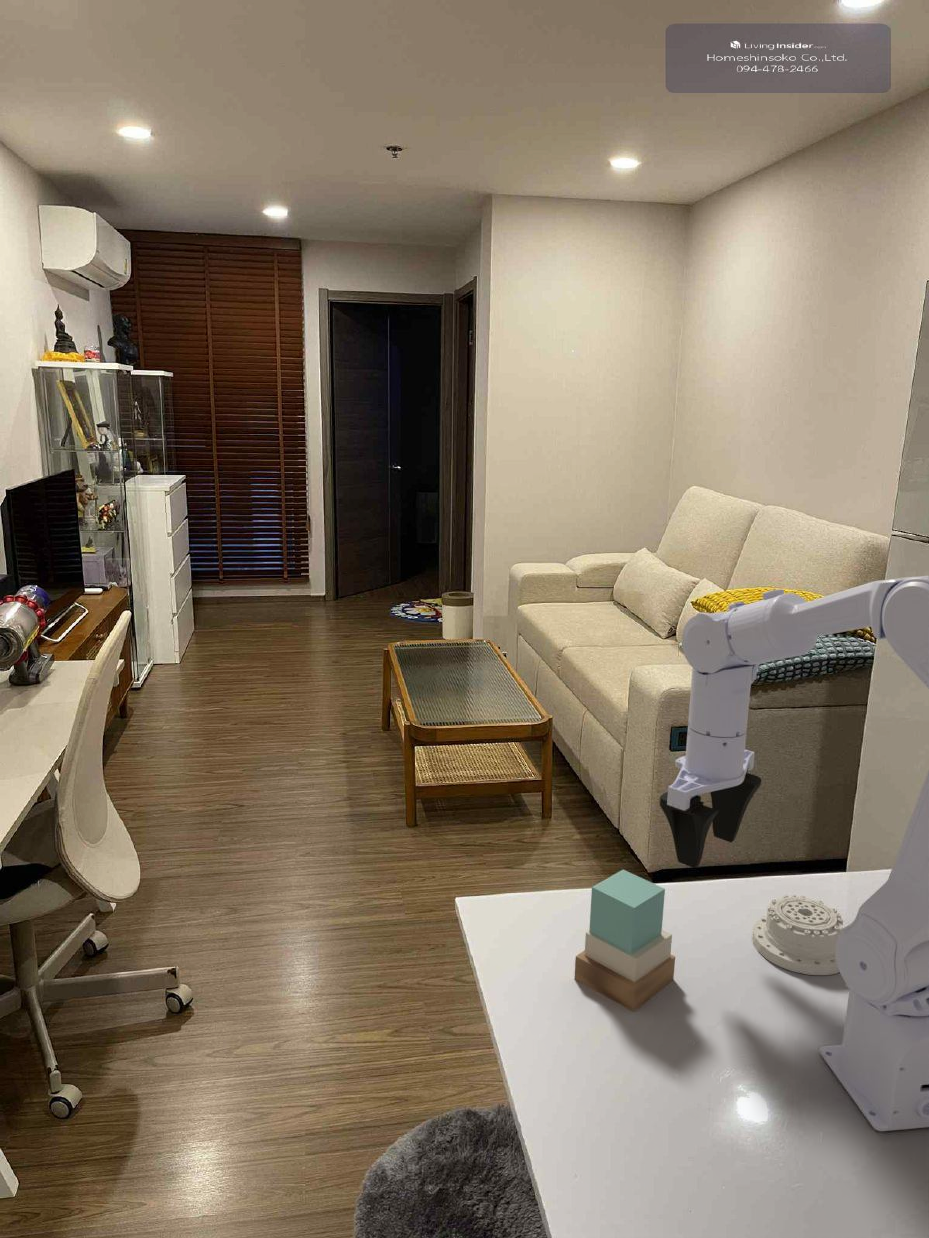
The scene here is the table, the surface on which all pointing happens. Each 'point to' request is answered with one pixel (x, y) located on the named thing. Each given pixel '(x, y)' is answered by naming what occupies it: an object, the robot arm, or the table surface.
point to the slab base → (623, 981)
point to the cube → (626, 911)
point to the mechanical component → (799, 935)
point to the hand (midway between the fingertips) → (706, 850)
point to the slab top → (626, 963)
